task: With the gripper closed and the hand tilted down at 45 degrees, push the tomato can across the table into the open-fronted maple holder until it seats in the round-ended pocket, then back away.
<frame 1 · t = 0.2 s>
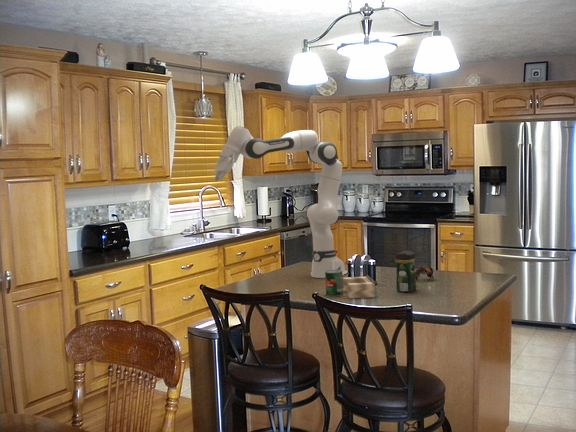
hand: (217, 180, 311), 54 cm above the table, tool tilted 30°, fingers open, 8 cm apart
holder: (356, 293, 283), on the table
brown arched piece: (425, 280, 310), on the table
coffee jar: (406, 291, 285), on the table
canned tomato: (334, 295, 283), on the table
walnut block: (340, 287, 301), on the table
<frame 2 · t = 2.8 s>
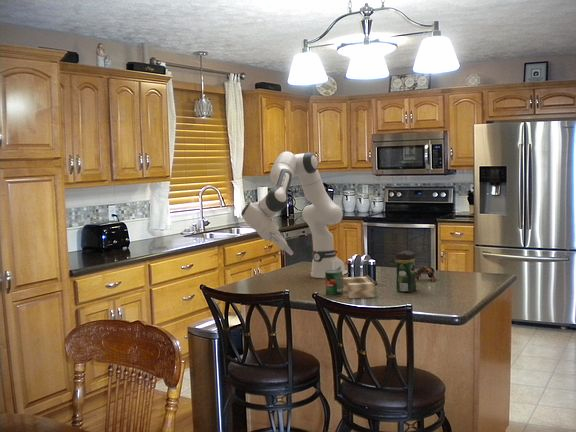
hand: (291, 253, 281), 20 cm above the table, tool tilted 45°, fingers open, 8 cm apart
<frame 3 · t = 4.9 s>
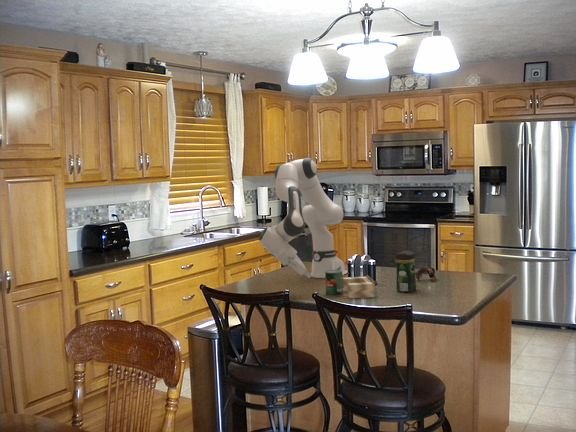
hand: (310, 276, 282), 9 cm above the table, tool tilted 45°, fingers closed
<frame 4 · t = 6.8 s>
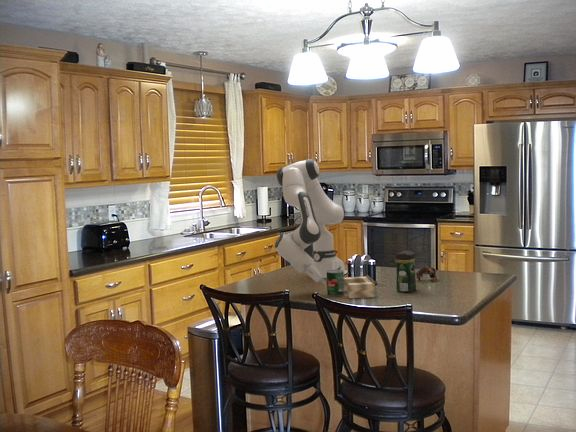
hand: (325, 283, 282), 5 cm above the table, tool tilted 45°, fingers closed, pressing on canned tomato
canned tomato: (335, 295, 283), on the table, touching gripper
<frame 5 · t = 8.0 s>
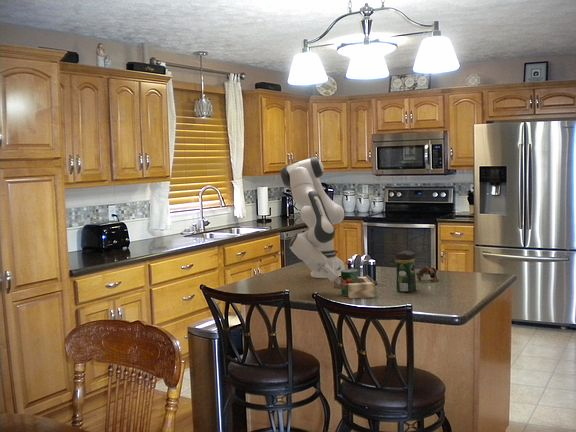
hand: (340, 282, 283), 5 cm above the table, tool tilted 45°, fingers closed, pressing on canned tomato
canned tomato: (350, 294, 283), on the table, touching gripper
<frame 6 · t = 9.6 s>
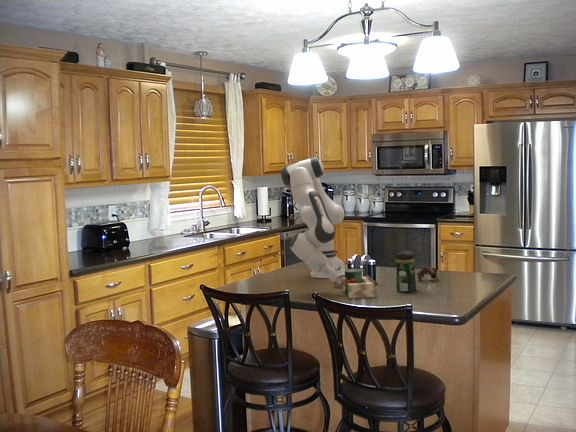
hand: (340, 282, 283), 5 cm above the table, tool tilted 45°, fingers closed
canned tomato: (354, 294, 283), on the table
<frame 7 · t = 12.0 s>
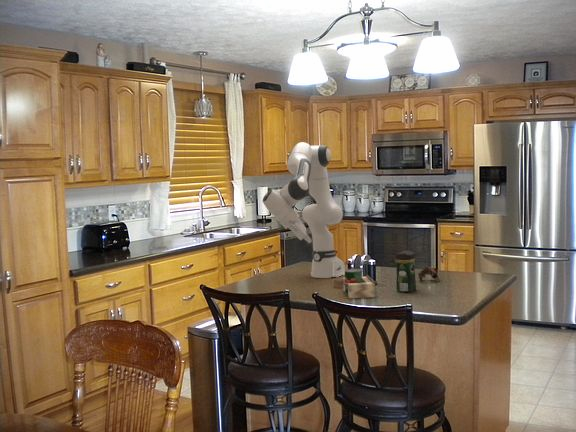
hand: (310, 241, 283), 25 cm above the table, tool tilted 40°, fingers closed
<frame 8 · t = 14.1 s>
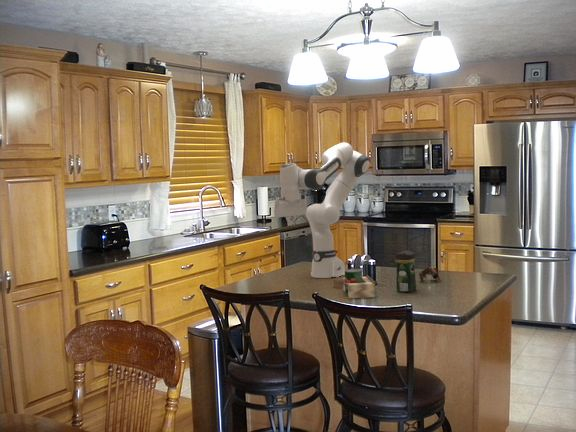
hand: (291, 225, 300), 31 cm above the table, tool pointing down, fingers closed
at the end: canned tomato 1.1 cm off-centre on the holder, point 0.0 cm above the holder's base; canned tomato tilted 0° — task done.
